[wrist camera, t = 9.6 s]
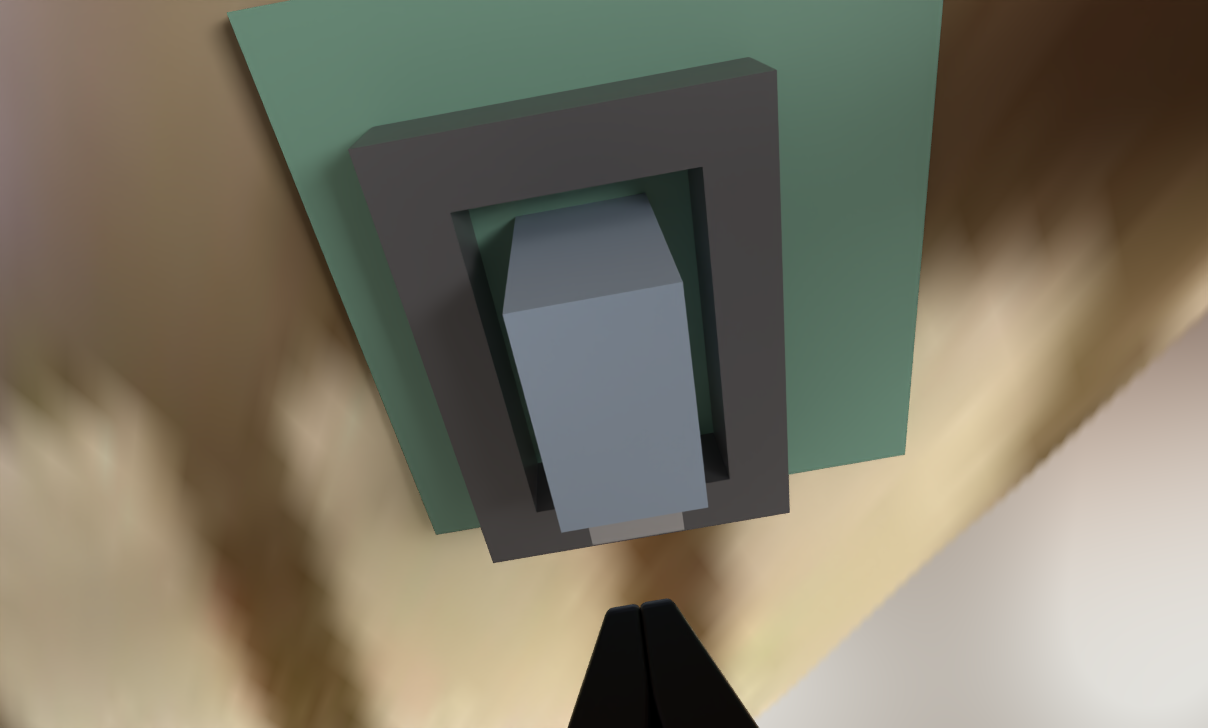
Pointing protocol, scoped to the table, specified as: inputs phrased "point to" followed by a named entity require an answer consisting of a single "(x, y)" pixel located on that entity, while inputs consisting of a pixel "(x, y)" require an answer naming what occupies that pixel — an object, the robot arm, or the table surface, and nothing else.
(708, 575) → the table surface
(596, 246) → the plug
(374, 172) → the header socket
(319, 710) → the table surface
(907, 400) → the circuit board
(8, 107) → the table surface
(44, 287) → the table surface
